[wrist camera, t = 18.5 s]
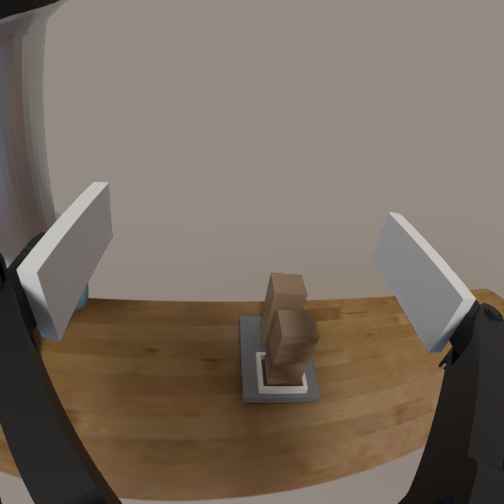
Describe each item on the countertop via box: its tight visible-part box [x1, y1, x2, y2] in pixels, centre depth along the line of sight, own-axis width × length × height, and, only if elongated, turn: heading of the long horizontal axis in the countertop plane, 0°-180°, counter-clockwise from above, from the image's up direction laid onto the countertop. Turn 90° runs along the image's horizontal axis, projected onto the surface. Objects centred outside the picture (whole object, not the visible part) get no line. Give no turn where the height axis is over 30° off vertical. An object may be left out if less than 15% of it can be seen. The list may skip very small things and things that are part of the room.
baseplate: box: [239, 273, 321, 403], centre depth 48 cm, size 12×18×14 cm, turn 3°
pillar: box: [263, 310, 320, 386], centre depth 44 cm, size 5×5×12 cm
